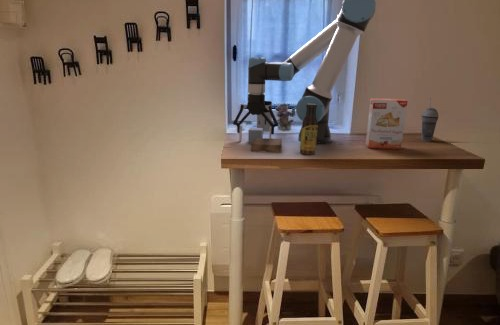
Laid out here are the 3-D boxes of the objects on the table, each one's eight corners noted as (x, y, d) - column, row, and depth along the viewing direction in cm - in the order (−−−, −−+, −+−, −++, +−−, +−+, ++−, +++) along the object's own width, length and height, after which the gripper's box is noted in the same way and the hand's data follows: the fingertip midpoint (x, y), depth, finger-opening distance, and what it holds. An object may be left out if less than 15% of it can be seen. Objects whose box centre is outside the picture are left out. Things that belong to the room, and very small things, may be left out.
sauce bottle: (303, 155, 145) (306, 105, 139) (297, 152, 150) (299, 103, 145) (318, 154, 146) (322, 104, 141) (311, 151, 152) (314, 102, 147)
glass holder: (274, 129, 199) (274, 101, 195) (267, 133, 186) (267, 104, 182) (258, 128, 202) (258, 100, 198) (250, 132, 189) (251, 103, 184)
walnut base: (281, 145, 161) (281, 139, 160) (280, 152, 150) (280, 145, 149) (254, 144, 162) (254, 138, 162) (251, 151, 151) (251, 144, 150)
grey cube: (262, 140, 171) (262, 128, 169) (261, 143, 165) (261, 130, 163) (249, 140, 171) (250, 127, 170) (248, 143, 166) (248, 130, 164)
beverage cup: (430, 143, 170) (437, 99, 164) (415, 140, 175) (421, 97, 170) (437, 141, 174) (444, 98, 169) (422, 138, 180) (428, 97, 174)
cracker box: (368, 148, 158) (373, 99, 152) (365, 145, 164) (369, 97, 158) (401, 149, 157) (408, 100, 151) (397, 146, 163) (403, 98, 157)
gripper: (285, 93, 164) (282, 140, 170) (229, 92, 167) (229, 137, 173) (284, 95, 157) (282, 143, 163) (227, 93, 160) (227, 141, 166)
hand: (255, 140), depth 168 cm, fingers open, 13 cm apart
